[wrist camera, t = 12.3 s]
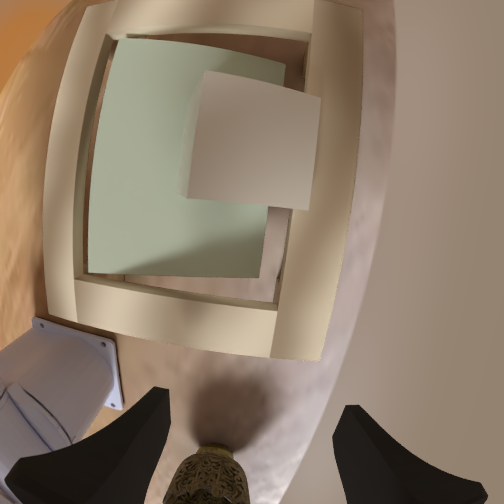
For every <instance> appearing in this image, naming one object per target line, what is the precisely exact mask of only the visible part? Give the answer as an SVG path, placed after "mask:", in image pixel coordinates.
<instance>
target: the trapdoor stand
mask: <svg viewBox="0 0 504 504" xmlns="http://www.w3.org/2000/svg"><path fill="white" fill-rule="evenodd" d="M179 33H228V34H245V35H257V36H267V37H276V38H283V39H290V40H297V41H303V42H308V45H307V48H306V51H305V54H304V62H303V73H302V78H305V87H304V93H307V94H310V95H313V96H316V97H319V98H321V105H320V116H319V126H318V136H317V146H316V155H315V163H314V172H313V180H312V188H311V196H310V203H309V211H306V210H298V209H290V214H289V221H288V229H287V236H286V243H285V249H284V256H283V263H282V269H281V276H280V278H277V280H276V286H275V293H274V299H273V303H271V302H262V301H253V300H245V299H237V298H229V297H221V296H214V295H207V294H200V293H193V292H186V291H179V290H173V289H166V288H160V287H154V286H148V285H142V284H136V283H130V282H124V274H107V273H88V261H86V262H84V263H83V213H84V195H85V182H86V172H87V163H88V154H89V147H90V140H91V134H92V127H93V122H94V116H95V111H96V106H97V101H98V97H99V92H100V88H101V84H102V79H103V75H104V72H105V68H106V64H107V61H108V58H109V59H110V60H111V61H113V58H114V54H115V51H116V48H117V44H118V41H119V38H136V39H147V38H146V37H145V36H150V35H162V34H179ZM362 89H363V11H362V10H361V9H358V8H354V7H350V6H347V5H343V4H339V3H335V2H330V1H326V0H113V1H108V2H104V3H100V4H96V5H92V6H89V7H87V9H86V11H85V13H84V16H83V18H82V20H81V23H80V25H79V28H78V31H77V33H76V36H75V39H74V42H73V44H72V47H71V50H70V53H69V56H68V60H67V63H66V66H65V70H64V73H63V77H62V80H61V84H60V88H59V92H58V96H57V101H56V105H55V110H54V115H53V120H52V126H51V131H50V138H49V144H48V152H47V160H46V169H45V180H44V195H43V260H44V275H45V286H46V296H47V304H48V311H49V314H50V315H53V316H56V317H60V318H63V319H66V320H70V321H73V322H77V323H80V324H84V325H88V326H91V327H95V328H99V329H103V330H107V331H111V332H115V333H120V334H124V335H128V336H133V337H137V338H142V339H147V340H152V341H157V342H162V343H167V344H172V345H178V346H184V347H190V348H196V349H202V350H209V351H216V352H223V353H231V354H239V355H247V356H256V357H266V358H277V359H290V360H304V361H320V357H321V353H322V350H323V346H324V342H325V338H326V334H327V330H328V326H329V322H330V317H331V313H332V309H333V304H334V300H335V295H336V291H337V286H338V281H339V276H340V271H341V266H342V261H343V255H344V250H345V244H346V238H347V232H348V226H349V220H350V213H351V206H352V199H353V192H354V184H355V176H356V167H357V158H358V148H359V137H360V124H361V109H362Z"/></svg>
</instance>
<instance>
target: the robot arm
mask: <svg viewBox="0 0 504 504" xmlns="http://www.w3.org/2000/svg"><path fill="white" fill-rule="evenodd" d="M32 326H33V328H31V329H30V330H28V331H27V332H26V333H24V334H23V335H22V336H20V337H19V338H17V339H16V340H15V341H13V342H12V343H11V344H9V345H8V346H7V347H5V348H4V349H3V350H1V351H0V504H144V501H145V497H146V493H147V489H148V486H149V483H150V481H151V478H152V476H153V473H154V471H155V468H156V466H157V463H158V461H159V458H160V456H161V454H162V451H163V449H164V446H165V444H166V440H167V436H168V433H169V428H170V424H171V417H170V398H169V389H164V388H160V387H153V388H152V389H151V390H150V391H149V392H148V393H147V394H146V395H144V396H143V397H142V398H141V399H140V400H139V401H138V402H137V403H136V404H135V405H133V406H132V407H131V408H130V409H129V410H127V411H126V412H125V413H124V414H123V415H121V416H120V417H119V418H117V419H116V420H115V421H113V422H112V423H110V424H109V425H108V426H106V427H105V428H103V429H101V430H100V431H98V432H96V433H95V434H93V435H91V436H89V437H87V438H85V439H83V440H82V438H83V437H84V435H85V433H86V432H87V430H88V429H89V427H90V426H91V424H92V422H93V421H94V419H95V418H96V416H97V415H98V413H99V411H100V410H101V408H102V407H103V405H104V406H107V407H110V408H114V409H117V410H122V409H123V408H124V404H123V398H122V392H121V386H120V379H119V372H118V364H117V356H116V347H115V343H114V341H112V340H111V339H108V338H104V337H100V336H97V335H93V334H89V333H86V332H82V331H79V330H75V329H72V328H69V327H65V326H62V325H59V324H56V323H53V322H50V321H47V320H44V319H41V318H38V317H34V318H32ZM103 342H104V343H105V344H106V345H104V344H103ZM114 404H115V405H114ZM332 439H333V448H334V454H335V459H336V463H337V467H338V470H339V474H340V477H341V481H342V484H343V488H344V492H345V495H346V500H347V504H484V503H485V501H486V500H487V498H488V494H487V493H486V491H485V489H484V488H483V486H482V484H481V483H480V482H475V481H471V480H467V479H463V478H460V477H457V476H454V475H452V474H449V473H447V472H444V471H442V470H440V469H438V468H436V467H434V466H432V465H430V464H428V463H426V462H424V461H423V460H421V459H420V458H418V457H417V456H415V455H414V454H412V453H411V452H409V451H408V450H407V449H406V448H404V447H403V446H402V445H401V444H399V443H398V442H397V441H396V440H395V439H393V438H392V437H391V436H390V435H389V434H388V433H387V432H386V431H385V430H384V429H383V428H382V427H380V426H379V425H378V423H377V422H376V421H375V420H374V419H372V417H371V416H370V415H369V414H368V413H367V412H366V411H365V410H364V409H363V408H362V407H361V406H360V405H346V406H345V408H344V411H343V413H342V416H341V418H340V420H339V423H338V425H337V427H336V429H335V432H334V434H333V436H332Z"/></svg>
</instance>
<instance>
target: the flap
mask: <svg viewBox="0 0 504 504" xmlns="http://www.w3.org/2000/svg"><path fill="white" fill-rule="evenodd" d="M285 67H286V64H284V63H280V62H277V61H273V60H269V59H266V58H262V57H258V56H254V55H250V54H245V53H241V52H236V51H232V50H227V49H222V48H216V47H210V46H204V45H198V44H191V43H183V42H175V41H165V40H153V39H136V38H119V41H118V44H117V48H116V51H115V54H114V58H113V61H112V65H111V69H110V73H109V77H108V81H107V84H106V88H105V92H104V97H103V102H102V106H101V112H100V117H99V122H98V128H97V134H96V141H95V148H94V155H93V164H92V173H91V183H90V196H89V214H88V273H107V274H129V275H154V276H184V277H224V278H259V274H260V266H261V259H262V252H263V244H264V236H265V229H266V221H267V214H268V206H264V205H254V204H244V203H234V202H223V201H212V200H200V199H187V198H185V197H183V196H181V195H179V194H177V193H176V191H177V182H178V173H179V164H180V156H181V149H182V141H183V134H184V127H185V121H186V115H187V108H188V102H189V100H190V98H191V97H192V95H193V93H194V91H195V89H196V87H197V85H198V83H199V81H200V79H201V77H202V76H203V74H204V72H205V70H208V71H214V72H220V73H225V74H230V75H236V76H241V77H245V78H250V79H254V80H259V81H263V82H267V83H271V84H275V85H279V86H283V84H284V75H285Z"/></svg>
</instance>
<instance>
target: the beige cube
mask: <svg viewBox="0 0 504 504" xmlns="http://www.w3.org/2000/svg"><path fill="white" fill-rule="evenodd" d="M320 105H321V98H319V97H316V96H313V95H310V94H307V93H303V92H300V91H297V90H293V89H290V88H286V87H283V86H279V85H275V84H271V83H267V82H263V81H259V80H254V79H250V78H245V77H241V76H236V75H230V74H225V73H220V72H214V71H208V70H205V72H204V74H203V76H202V77H201V79H200V81H199V83H198V85H197V87H196V89H195V91H194V93H193V95H192V97H191V98H190V100H189V102H188V108H187V115H186V121H185V127H184V134H183V141H182V149H181V156H180V164H179V173H178V182H177V191H176V193H177V194H179V195H181V196H183V197H185V198H187V199H200V200H212V201H223V202H234V203H244V204H254V205H264V206H273V207H282V208H290V209H298V210H306V211H309V203H310V196H311V188H312V180H313V172H314V163H315V155H316V146H317V136H318V126H319V116H320Z"/></svg>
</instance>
